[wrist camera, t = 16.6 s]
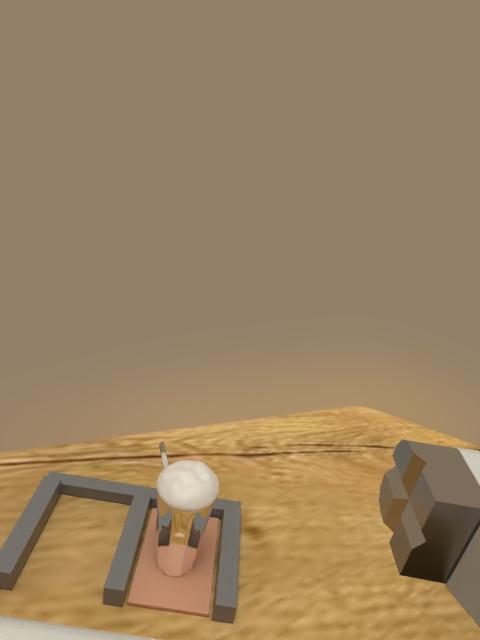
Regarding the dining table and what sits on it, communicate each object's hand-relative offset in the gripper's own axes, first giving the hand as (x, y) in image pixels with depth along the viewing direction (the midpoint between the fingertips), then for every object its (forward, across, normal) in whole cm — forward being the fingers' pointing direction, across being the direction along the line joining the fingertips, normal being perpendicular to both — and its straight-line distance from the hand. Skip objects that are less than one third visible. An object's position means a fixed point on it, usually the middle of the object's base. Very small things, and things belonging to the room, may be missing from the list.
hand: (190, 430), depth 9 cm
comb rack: (+18, +4, +28) cm, 33 cm away
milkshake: (+18, 0, +28) cm, 33 cm away
